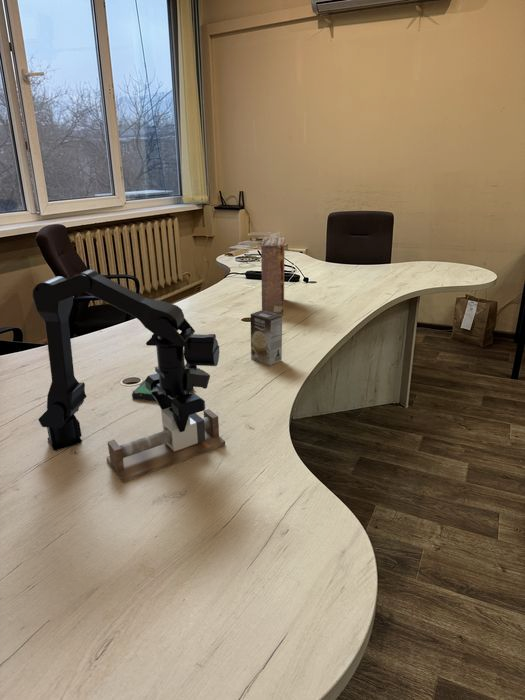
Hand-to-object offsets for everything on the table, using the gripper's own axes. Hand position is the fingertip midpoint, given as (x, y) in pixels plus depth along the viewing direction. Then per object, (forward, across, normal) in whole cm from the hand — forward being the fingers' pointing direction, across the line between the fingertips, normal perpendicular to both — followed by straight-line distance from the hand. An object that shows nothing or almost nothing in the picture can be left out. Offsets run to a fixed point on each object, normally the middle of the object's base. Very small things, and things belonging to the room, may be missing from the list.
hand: (176, 426), depth 112 cm
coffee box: (+6, +32, -48) cm, 58 cm away
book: (+6, +82, -88) cm, 121 cm away
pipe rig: (+6, 0, +3) cm, 7 cm away
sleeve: (+4, 0, -1) cm, 5 cm away
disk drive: (+7, +29, -9) cm, 31 cm away
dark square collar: (+4, 0, -5) cm, 7 cm away
